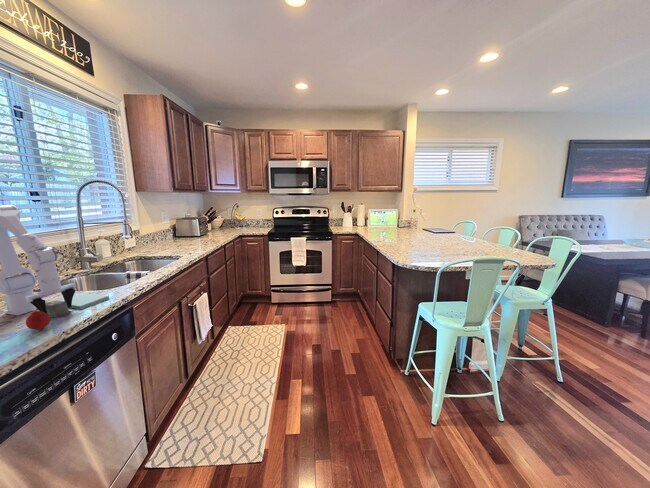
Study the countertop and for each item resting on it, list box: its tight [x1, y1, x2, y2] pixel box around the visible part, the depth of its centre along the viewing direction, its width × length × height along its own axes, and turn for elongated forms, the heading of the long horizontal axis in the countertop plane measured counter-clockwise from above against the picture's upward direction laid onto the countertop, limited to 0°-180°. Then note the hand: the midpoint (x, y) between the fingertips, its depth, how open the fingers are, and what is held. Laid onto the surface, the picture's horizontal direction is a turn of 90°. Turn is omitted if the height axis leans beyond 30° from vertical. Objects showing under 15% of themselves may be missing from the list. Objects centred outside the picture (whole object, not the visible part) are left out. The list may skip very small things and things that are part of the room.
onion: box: [25, 309, 51, 332], centre depth 92 cm, size 6×6×8 cm
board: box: [58, 292, 110, 310], centre depth 117 cm, size 18×11×2 cm, turn 72°
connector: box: [45, 299, 70, 319], centre depth 105 cm, size 11×4×5 cm, turn 72°
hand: (57, 311), depth 105 cm, fingers open, 7 cm apart
